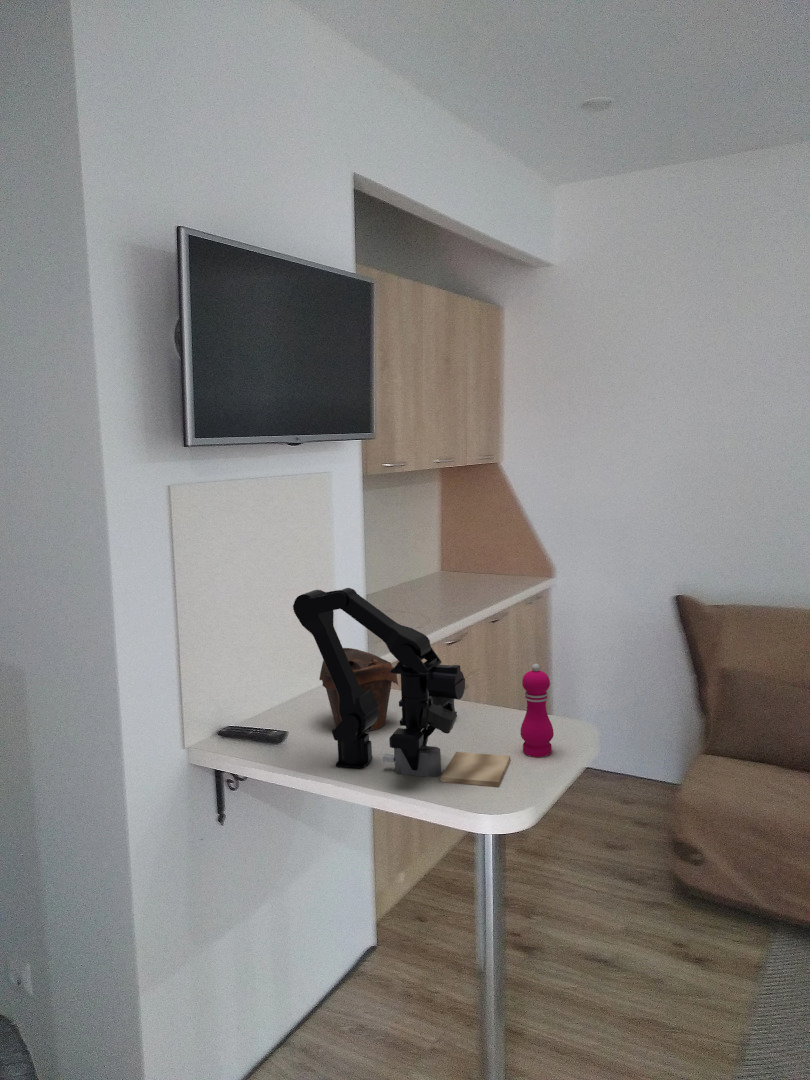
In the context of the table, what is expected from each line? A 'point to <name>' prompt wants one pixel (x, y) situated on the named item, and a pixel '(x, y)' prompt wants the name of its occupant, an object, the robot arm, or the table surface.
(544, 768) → the table surface
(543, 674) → the pepper mill
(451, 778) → the cork mat
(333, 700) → the brown tapered rounded piece
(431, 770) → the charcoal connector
